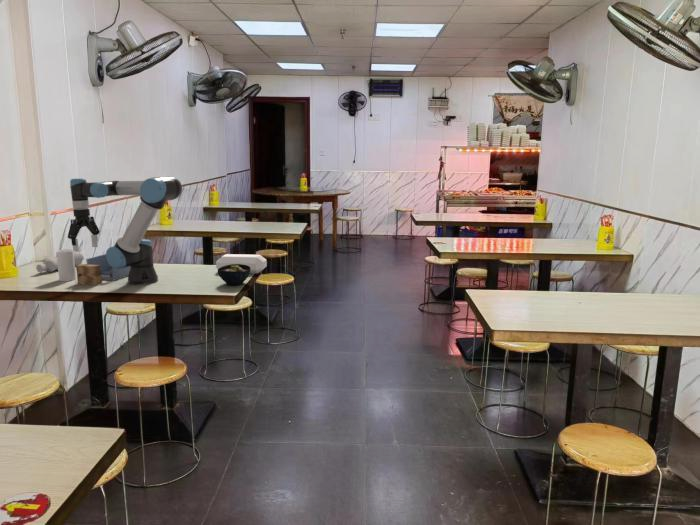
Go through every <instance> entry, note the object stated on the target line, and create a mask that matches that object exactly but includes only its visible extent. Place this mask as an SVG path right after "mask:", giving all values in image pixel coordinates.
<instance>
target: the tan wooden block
mask: <svg viewBox="0 0 700 525" xmlns="http://www.w3.org/2000/svg"><path fill="white" fill-rule="evenodd" d="M75 271H76V280H77V284H80V285H90V286H91V285H92V286H99V285H102V284H103V280H102V276H103V275H102V276H101V265H91V264H87V263H81V264H79V265H76V266H75Z"/></svg>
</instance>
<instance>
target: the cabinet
mask: <svg viewBox="0 0 700 525" xmlns="http://www.w3.org/2000/svg"><path fill="white" fill-rule="evenodd" d="M85 262H86V264H91V265H101V276H102V281H103V280H104V281H105V280H106V281H116V280H119V279H122V278H125V277H127V276H129V272H130V266H129V267H125V268H123V269H122V268H121V269H115V268H113V267H111V266H110V265H109V263H108V262H107V259H106V253H103V254H100V255H99V254H98V255H96V256H92V257H88V258H86V259H85ZM124 276H125V277H124Z"/></svg>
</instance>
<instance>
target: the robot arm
mask: <svg viewBox="0 0 700 525" xmlns="http://www.w3.org/2000/svg"><path fill="white" fill-rule="evenodd" d="M69 182H70V183H69V185H70V186H69V189H70V194H71V201H72V208H73V212H72V213H73V217H75V218H73V219H70V226H69V230H68V233H67V239H69V240H70V241H71V245H72V250H73V251H75V252H78V251H79V252H80V250H79V240H78V238H77V237H78V235H79V233H80V231H81V229H82V228H84V227H86V228H87V229H88V231H89V232H90V233H91V234H90V237H91V245H92V248H98V235H99V234H100V232H101V231H100V229H99V228H98V224H97V223H96V221H95V217H94V216H91V214H90V209H89V208H90V204H89V198H97V199H100V198H105V197H112V196H114V197H115V196H139V198H140V203H139V206H138V207H137V209H136V211H135V213H134V214H133V217H132V219H131V221H130V222H129V225H128V226H127V228H126V230H125V231H124V234H123V235H122V237H119V238H117V240H116V242H115V243H114V245H113V246H110V247H108V248H107V250H106V252H105V254H106V259H107V262H108V263H109V265H110V266H111V267H113V268H115V269H121V268H122V269H123V268H125V267H129V266H130V272H129V275H128V278H127V283H128V284H130V285H148V284H153V283H156V282H158V281H159V276H158V274H157V271H156V269H155V265H154V256H153V254H154V252H153V251H154V250H153V242H152V240H150V239H145V238H144V237H145V234H146V233H147V230H148V229H149V228H150V225H151V223H152V222H153V220H154V218H155V216H156V215H157V213H158V211H159V210H162V209H163V208H164V207H165V204H166V203H167V201H173V200H176V199H178V198H179V197H180V196H181V194H182V192H183V186H182V183H181V181H180V180H179V179H178V178H176V177H173V176H162V177H161V176H160V177H159V176H158V177H156V176H155V177H150V178H146V179H144V180H112V181H111V180H110V181H109V180H108V181H96V182H87V179H86V178H71V179H70V181H69ZM143 238H144V239H143Z"/></svg>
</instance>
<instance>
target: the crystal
mask: <svg viewBox="0 0 700 525" xmlns="http://www.w3.org/2000/svg"><path fill="white" fill-rule="evenodd" d="M232 264H242V265H247V266H249V267H250V268H251V269H250V274H260V272H262V271H264V269H265V268H267V266H268V265H267V264H268V261H267V259H266V258H265V257H264V256H262V255H261V254H249V253H248V254H244V253H243V254H242V253H239V254H237V253H235V254H233V253H232V254H231V253H226V254H223V255H222V256H221V257H219V259H217V260H216V261H215V269H217V270H218V269H219V268H221V267H223V266H226V265H232Z"/></svg>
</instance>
